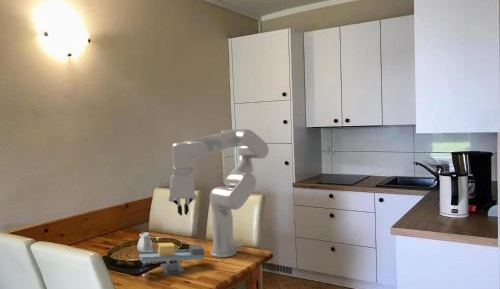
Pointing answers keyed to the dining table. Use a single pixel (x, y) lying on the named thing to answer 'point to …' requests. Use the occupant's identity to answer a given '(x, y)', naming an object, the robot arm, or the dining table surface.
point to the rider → (166, 249)
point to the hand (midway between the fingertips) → (183, 214)
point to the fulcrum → (172, 268)
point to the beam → (191, 254)
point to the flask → (147, 244)
